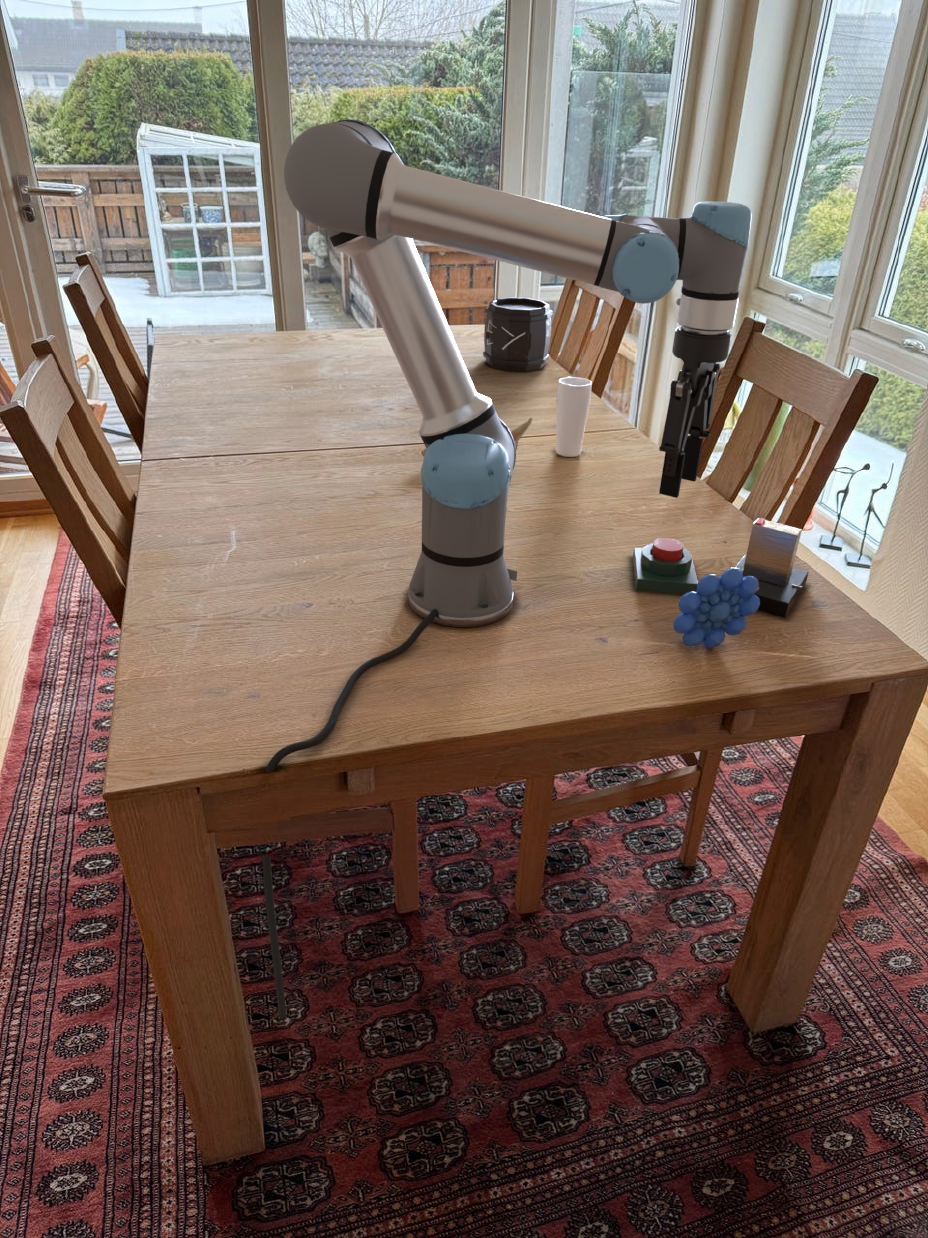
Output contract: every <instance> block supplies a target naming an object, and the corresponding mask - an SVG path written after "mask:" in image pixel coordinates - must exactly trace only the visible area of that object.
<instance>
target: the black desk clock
mask: <svg viewBox="0 0 928 1238" xmlns="http://www.w3.org/2000/svg"><path fill="white" fill-rule="evenodd" d="M484 309H485V310H484V313H485V314H486V316H485V321H484V322H485V323H484V330H483V331H484V332H483V344H484V346H483V347H484V351H483V352H482V357H484V358H485V361H486V364H488V365H489V366H490V367H491V368H493V369H497V370H502V371H506V372H531V371H536V370H537V371H539V370H541V369H542V368H543V367H544V366H545V365H546V362H547V361H549V358H550V354H549V351H550V344H551V338H552V337H551V336H552V316H553V315H554V312H553V310H552V309H551V306H550V304H549V303H547V302H546V301H544V300H540V299H536V298H529V297H514V296H513V297H512V296H511V297H509V296H508V297H500V298H496V299H492V300H491V301H490V302H489V304H488V306H487V307H486V308H484Z"/></svg>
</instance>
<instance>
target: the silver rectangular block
mask: <svg viewBox="0 0 928 1238" xmlns="http://www.w3.org/2000/svg"><path fill="white" fill-rule="evenodd" d="M802 532H803V529H802V528H799V527H795V526H791V525H786V524H783V523H779V522H775V521H771V520H768V519H767V518H764V517H757V519H756V520H755V521H754V522H753V524H752V527H751V532H750V536H749V541H748V545H747V550H746V554H745V555H746V559H745V564H744V568H743V575H744V576H753V577H755V578H756V579H758V580H762V581H766V582H769V583H773V584H776V585H780V586H783V587H785V586H786V584H787V583H788V582H789V580H790V576H791V572H792V568H794V564H795V560H796V555H797V552H798V548H799V543H800V540H801V536H802Z"/></svg>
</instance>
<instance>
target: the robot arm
mask: <svg viewBox="0 0 928 1238" xmlns="http://www.w3.org/2000/svg"><path fill="white" fill-rule="evenodd" d="M283 180H284V185H285V190H286V193H287V195H288V198H289V200H290V202H291V203H292V206H293V207H294V208H295V209H296V211H297V212H298V213H299V214H300V215H301V217H303V218H305V220H307V221H308V222H310V223H311V224H313V225H315V226H317V227H319V228H322V229H325V232H326V233H327V235H328V238H329V240H330V243H331V245H332V247H333V249H334V250H335V251H338V252H340V253H342V254H345V255H347V256H348V257H349V258H350V259H351V261H352V263H353V266H354V268H355V270H356V273H357V274H358V277H359V279H360V281H361V283H362V285H363V287H364V290H365V292H366V294H367V297H368V299H369V300H370V303H371V305H372V307H373V309H374V312H375V314H376V316H377V318H378V321H379V323H380V325H381V327H382V329H383V330H382V331H383V332H384V334H385V336H386V338H387V341H388V343H389V345H390V347H391V349H392V352H393V354H394V356H395V358H396V360H397V363H398V365H399V367H400V369H401V371H402V373H403V376H404V378H405V380H406V383H407V385H408V388H409V389H410V391H411V394H412V395H413V398H414V400H415V402H416V405H417V407H418V409H419V411H420V413H421V415H422V421H421V423H420V425H419V428H418V433H419V436H420V439H421V440H422V442H423V445H424V448H425V449H427V450H426V452H425V454H424V457H423V459H422V464H421V468H420V478H421V484H422V485H421V486H422V487H421V489H422V490H421V491H422V492H421V550H420V551H421V552H420V555H419V558H418V560H417V563H416V566H415V569H414V571H413V574H412V577H411V579H410V582H409V586H408V601H407V602H408V605H409V607H410V609H411V610H412V611H413V612H414V613H415V614H416V615H417V616H419V617H421V618H422V619H423V620H422V621H421V622H420V623H419V624H418V626H417V627H416V628H415V629H414V630H413V631H412V633H411V634H410V635H409V637H408V638H407V639H406V640H405V641H404V642H403V643H402V644H401V645H399V646H397V647H396V648H394V649H392V650H390V651H388V652H385V653H383V654H381V655H378V656H375V657H373V658H371V659H369V660H367V661H366V662H363V664H361V665H360V666H359V667H358V668H357V669H356V670H355V671H354V672H353V673H352V674H351V675H350V676H349V678H348V680H347V681H346V683H345V685H344V687H343V688H342V691H341V693H340V695H339V696H338V698H337V700H336V701H335V703H334V705H333V707H332V711H331V713H330V716H329V718H328V721H327V722H326V724H325V725H324V727H323V728H322V730H321V731H320V732H319V733H317V734H315V736H313V737H312V738H308V739H306V740H302V741H298V742H294V743H291V744H289V745H286V746H284V747H282V748H280V749H279V750H278V751H277V752H276V753H275V754H274V755H273V756H272V757H271V759H270V760H269V762H268V764H267V765H266V768H265V773H273V772H274V771H275V770H276V768H277V767H278V765H279V764H280V763H281V761H282V760H283V759H284V758H286V757H287V756H288V755H291V754H293V753H296V752H299V751H303V750H307V749H310V748H313V747H315V746H317V745H319V744H321V743H322V742H324V741H325V740H326V739H327V738H328V737H329V736H330V735H331V733H332V732H333V730H334V729H335V727H336V724H337V722H338V719H339V716H340V714H341V711H342V709H343V707H344V705H345V703H346V702H347V700H348V698H349V696H350V695H351V692H352V689H353V688H354V687H355V685H356V683H357V682H358V680H359V679H360V678H361V677H362V676H363V674H365V673H366V672H367V671H368V670H370V669H372V668H374V667H375V666H378V665H379V664H381V663H384V662H387V661H390V660H392V659H394V658H396V657H398V656H400V655H401V654H403V653H404V652H406V651H407V650H408V649H409V648H411V647H412V646H413V645H414V643H415V642H416V641H417V640H418V638H419V637H420V635H422V634H423V632H424V631H425V630H426V628H428V626H429V625H430V624H431V623H434V624H438V625H442V626H446V627H453V628H454V627H455V628H473V627H481V626H486V625H489V624H493V623H495V622H497V621H500V620H501V619H503V618H504V617H506V616H507V615H508V614H509V613H510V612H511V610H512V609H513V604H514V589H513V584H512V581H513V582H518V581H517V580H518V571H516V570H513V569H510V568H508V567H507V564H506V559H505V557H504V550H505V549H504V548H505V534H506V533H505V532H506V519H507V505H508V497H509V491H510V485H511V481H512V476H513V471H514V470H515V465H516V461H517V460H516V459H517V450H516V448H515V443H514V439H513V437H512V434H511V431H510V428H509V427H508V425H507V424H506V423H505V422H504V421H503V420H502V419H501V418H500V417H499V415H498V413H497V411H496V408H495V406H494V404H493V401H492V399H491V398H490V397H489V396H486V395H483V394H481V393H479V392H477V389H476V388H475V385H474V383H473V380H472V378H471V376H470V373H469V371H468V369H467V366H466V364H465V361H464V359H463V357H462V354H461V352H460V350H459V346H458V345H457V343H456V340H455V337H454V335H453V332H452V331H451V328H450V326H449V323H448V321H447V318H446V316H445V314H444V311H443V309H442V307H441V304H440V302H439V300H438V298H437V295H436V292H435V290H434V287H433V285H432V283H431V281H430V278H429V276H428V274H427V270H426V268H425V266H424V264H423V262H422V259H421V257H420V254H419V253H418V250H417V248H416V245H415V243H414V240H415V241H419V242H422V243H426V244H431V245H434V246H438V247H442V248H445V249H446V248H447V249H450V250H455V251H458V252H463V253H465V254H470V255H475V256H478V257H480V258H481V257H482V258H486V259H490V260H494V261H498V262H502V263H506V264H510V265H512V266H513V265H514V266H518V267H522V268H525V269H530V270H533V271H538V272H541V273H545V274H550V275H553V276H557V277H559V278H565V279H569V280H573V281H577V282H581V283H584V284H589V285H592V286H595V287H599V288H601V289H605V290H609V291H614V292H617V293H619V295H621V296H623V297H624V298H625V299H627V300H629V301H630V302H633V303H637V304H651V303H655V302H657V301H660V300H661V299H663V298H664V297H666V296H667V295H668V294H669V293H670V292H671V290H672V289H673V288H674V286H675V284H676V282H677V281H682V284H681V285H682V286H681V290H680V297H678V298H677V299H676V301H675V305H677V306H678V313H677V317H676V322H677V323H678V325H679V326H677V327H676V328H675V330H674V337H673V343H672V349H671V351H672V355H673V356H674V357H675V358H677V359H680V360H681V361H682V362H683V364H682V367H681V370H680V371H679V372H678V375H677V379H672V381H671V383H670V392H669V400H668V405H667V412H666V416H665V423H664V428H663V433H662V438H661V443H660V445H659V448H658V450H659V452H663V453H664V459H663V466H662V473H661V478H660V484H659V490H658V491H659V492H658V494H659V495H663V496H667V497H671V498H675V499H677V498H678V497H679V496H680V491H681V484H682V480H685V481H689V482H694V483H695V482H696V481H697V478H698V472H699V465H700V461H701V456H702V455H701V454H702V449H703V443H704V439H709V438H710V437H711V434H712V432H711V431H709V429H710V428H711V426H712V425H711V423H712V415H713V409H714V402H715V395H716V387H717V381H718V376H719V372H720V369H721V363H722V362H725V361H726V360H727V359H728V357H729V353H730V347H731V342H732V336H733V334H732V332H731V331H730V330H732V329H733V328H734V327H735V320H736V316H737V310H738V305H739V298H740V297H739V295H740V290H741V285H742V279H743V276H744V270H745V265H746V259H747V254H748V248H749V247H750V233H751V227H752V218H753V213H752V210H751V209H750V208H749V207H748V206H747V205H745V204H744V203H743V204H742V203H739V202H731V201H716V200H715V201H708V200H705V201H699V202H696V204H695V205H694V206H693V209H692V213H691V214H690V217H683V218H682V217H680V218H676V217H674V218H673V217H663V216H662V217H661V216H660V217H659V216H658V217H657V216H645V215H630V214H628V213H623V214H622V213H621V214H606V215H603V216H600V215H596V214H592V213H588V212H584V211H581V210H576V209H574V208H573V209H572V208H569V207H566V206H562V205H557V204H554V203H550V202H546V201H542V200H538V199H535V198H530V197H527V196H522V195H519V194H515V193H512V192H507V191H503V190H500V189H496V188H492V187H488V186H485V185H481V184H477V183H473V182H471V181H470V182H469V181H465V180H462V179H458V178H454V177H450V176H447V175H442V174H439V173H434V172H431V171H427V170H423V169H419V168H416V167H412V166H408V165H405V164H404V162H403V161H402V159H401V158H400V156H399V154H398V153H396V150H395V148H394V146H393V144H392V143H391V141H390V139H388V137H386V136H385V134H383V132H382V131H380V130H379V129H378V128H377V127H374V126H373V125H371V124H370V123H367V122H364V121H362V120H358V119H350V118H349V119H348V118H345V119H339V120H336V121H333V122H329V123H328V122H327V123H320V124H316V125H314V126H311V127H309V128H307V129H306V130H304V131H303V132H301V133H300V134H299V135H298V136H297V137H296V138H295V139H294V141H293V142H292V144H291V145H290V147H289V149H288V151H287V153H286V157H285V162H284V168H283ZM515 451H516V453H515ZM272 873H273V871H272V856H269V855H265V854H262V874H263V875H262V876H263V888H264V901H265V909H266V910H265V911H266V918H267V927H268V933H269V943H270V950H271V957H272V965H273V973H274V982H275V988H276V989H275V990H276V999H277V1009H278V1010H277V1011H278V1018H279V1019H281V1020H283V1019H285V1018H286V1017H287V1008H286V1007H287V1006H286V996H285V986H284V977H283V968H282V960H281V952H280V951H281V950H280V944H279V935H278V928H277V927H278V926H277V919H276V907H275V900H274V888H273V874H272Z"/></svg>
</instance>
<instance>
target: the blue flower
mask: <svg viewBox="0 0 928 1238" xmlns="http://www.w3.org/2000/svg"><path fill="white" fill-rule="evenodd" d="M697 582H698V584H697V592H693V591H692V592H689V593H686V594H682V596H681V597H680V598H679V601H678V609H679V611H680V613H679V614H678V615H676V617H675V618H674V619H673V623H672V626H673V630H674V631H675V633H676V634H682V642H683V644H685V646H686V647H689V648H693V647H697V646H699V645H700V644H701V643H702V644H703V645H704V646H705V647H706V648H716V647H718V646H721V644H722V643H723V642H724V641H725V638H726V635H727V636H738V635H740V634H741V633H743V631H744V630H746V627H747V624H748V621H747V617H749V616H752V615H754V614H755V613H756V612H757V611H759V610H758V608H759V605H760V600H759V598H758V597H757V596H756V595H754V594H755V593H756V592H757V589H758V586H759V583H758V580H757V579H756V578H755V577H753V576H747V577H744V578H743V573H742V571H741V570H740V569H738V568H735V567H733V568H731V567H730V568H728V569H726V570H724V571H723V572H722V573H721V575H720V577H719V575H717V574H714V573H709V574H706V575H705V574H704V575H703V576H702V577H701V578H700V579H699V580H697Z"/></svg>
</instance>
